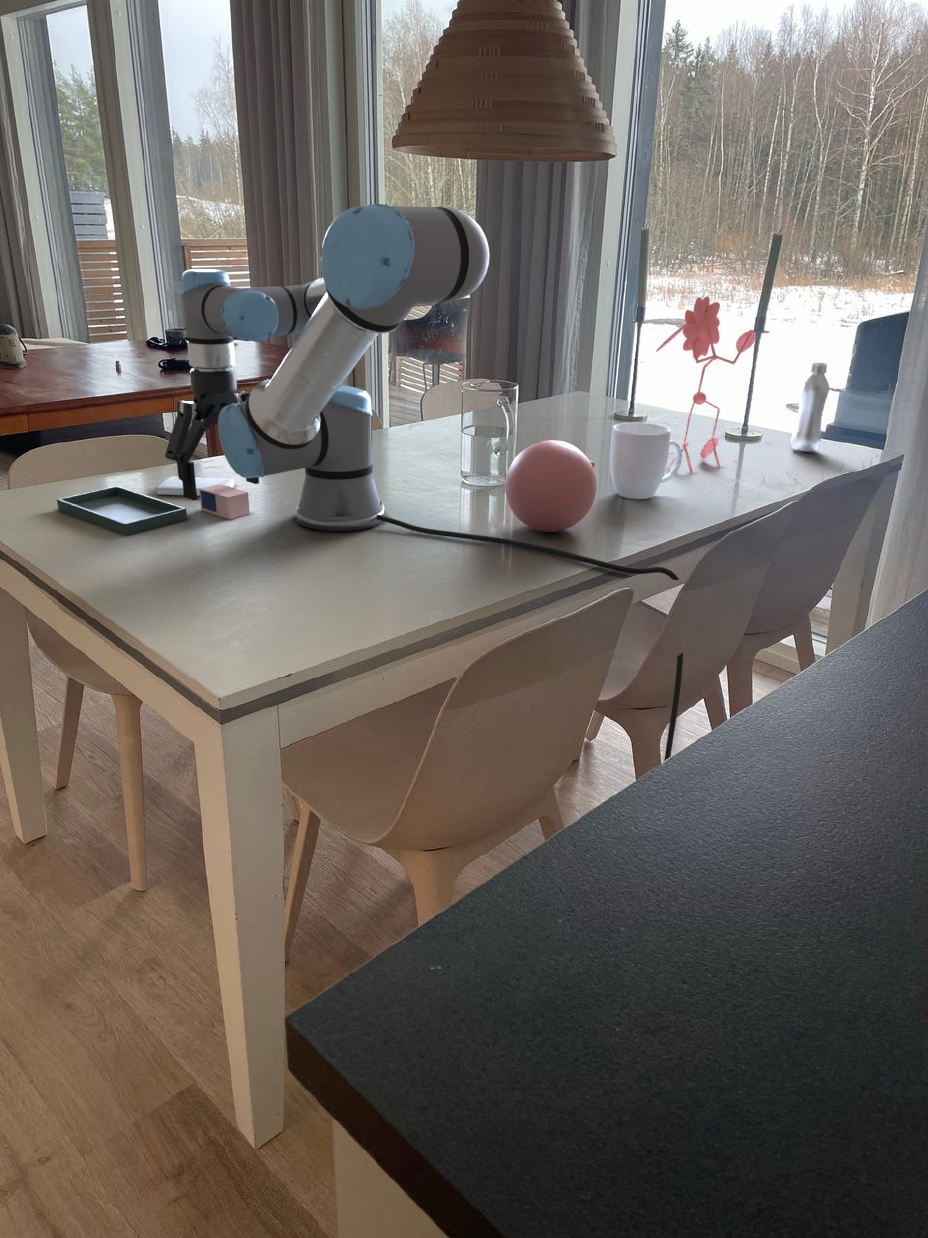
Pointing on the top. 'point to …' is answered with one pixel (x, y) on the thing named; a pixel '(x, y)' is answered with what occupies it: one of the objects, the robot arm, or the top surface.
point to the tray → (122, 510)
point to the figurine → (699, 338)
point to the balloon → (551, 486)
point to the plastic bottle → (811, 409)
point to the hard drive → (176, 486)
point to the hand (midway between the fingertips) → (222, 490)
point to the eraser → (224, 501)
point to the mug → (641, 458)
